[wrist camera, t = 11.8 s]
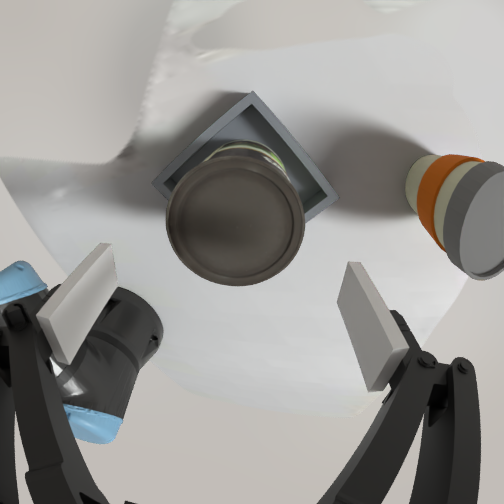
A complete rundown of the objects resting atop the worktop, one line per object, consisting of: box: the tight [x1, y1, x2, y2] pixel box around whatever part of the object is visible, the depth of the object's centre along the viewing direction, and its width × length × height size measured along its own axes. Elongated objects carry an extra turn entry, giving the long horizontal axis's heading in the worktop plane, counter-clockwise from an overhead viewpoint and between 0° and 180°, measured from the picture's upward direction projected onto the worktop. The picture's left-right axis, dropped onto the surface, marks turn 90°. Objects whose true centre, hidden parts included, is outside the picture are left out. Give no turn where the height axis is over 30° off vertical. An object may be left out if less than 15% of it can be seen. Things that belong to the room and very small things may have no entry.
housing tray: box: [152, 91, 340, 223], centre depth 32 cm, size 15×15×4 cm
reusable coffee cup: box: [405, 154, 504, 280], centre depth 27 cm, size 13×13×15 cm
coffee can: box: [166, 140, 305, 286], centre depth 27 cm, size 10×10×14 cm
